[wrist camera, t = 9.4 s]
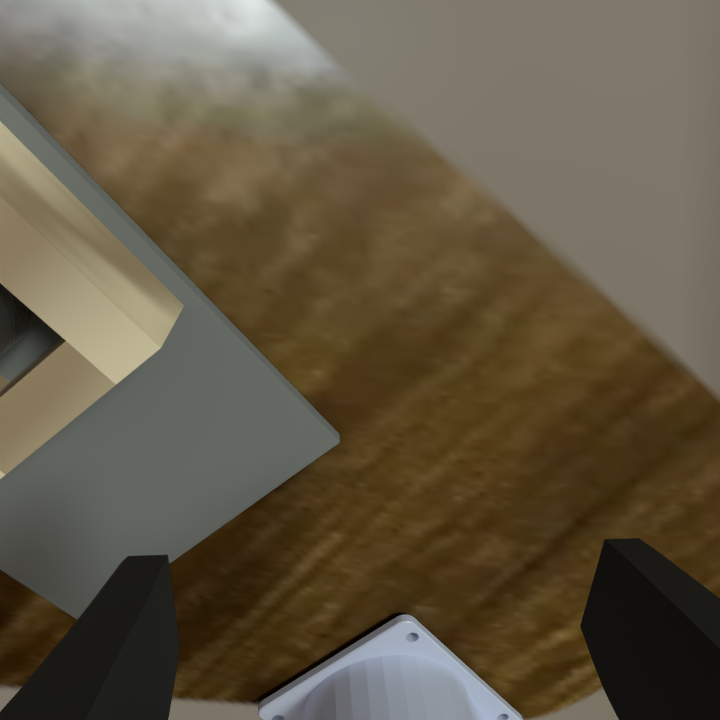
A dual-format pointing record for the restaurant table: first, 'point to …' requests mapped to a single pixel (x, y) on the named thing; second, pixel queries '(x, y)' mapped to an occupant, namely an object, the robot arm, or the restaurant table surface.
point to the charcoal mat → (146, 430)
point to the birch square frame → (68, 303)
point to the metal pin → (14, 320)
